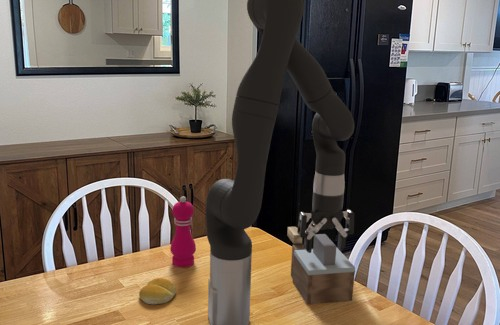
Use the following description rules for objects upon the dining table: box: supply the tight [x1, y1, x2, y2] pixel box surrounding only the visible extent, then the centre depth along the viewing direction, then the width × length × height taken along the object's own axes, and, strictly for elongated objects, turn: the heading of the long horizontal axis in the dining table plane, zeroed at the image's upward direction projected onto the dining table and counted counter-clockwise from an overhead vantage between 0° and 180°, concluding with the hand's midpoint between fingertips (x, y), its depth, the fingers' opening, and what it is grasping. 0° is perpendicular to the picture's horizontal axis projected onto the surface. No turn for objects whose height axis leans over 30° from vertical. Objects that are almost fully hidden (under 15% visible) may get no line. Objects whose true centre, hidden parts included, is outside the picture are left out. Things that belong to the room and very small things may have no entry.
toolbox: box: [290, 243, 356, 306], centre depth 129 cm, size 12×15×9 cm
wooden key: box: [286, 226, 303, 245], centre depth 137 cm, size 2×6×2 cm, turn 12°
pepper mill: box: [170, 195, 197, 268], centre depth 140 cm, size 7×7×20 cm
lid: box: [294, 233, 356, 275], centre depth 126 cm, size 12×12×7 cm
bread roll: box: [138, 277, 177, 305], centre depth 123 cm, size 8×9×4 cm
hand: (324, 250), depth 126 cm, fingers open, 8 cm apart
